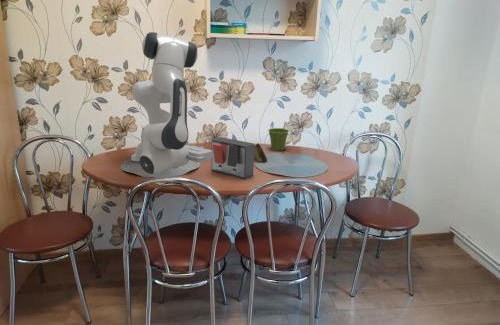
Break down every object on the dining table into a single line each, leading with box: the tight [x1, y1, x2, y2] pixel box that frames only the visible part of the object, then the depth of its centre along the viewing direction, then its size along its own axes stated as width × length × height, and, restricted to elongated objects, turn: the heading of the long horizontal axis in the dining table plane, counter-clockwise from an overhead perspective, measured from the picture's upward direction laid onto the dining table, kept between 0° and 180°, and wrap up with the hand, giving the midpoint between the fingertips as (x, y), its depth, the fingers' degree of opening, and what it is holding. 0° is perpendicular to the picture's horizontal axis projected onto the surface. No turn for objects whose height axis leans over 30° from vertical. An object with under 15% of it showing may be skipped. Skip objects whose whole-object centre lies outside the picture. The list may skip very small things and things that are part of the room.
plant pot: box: [267, 127, 290, 152], centre depth 203 cm, size 12×12×11 cm
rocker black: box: [227, 145, 239, 167], centre depth 155 cm, size 2×4×9 cm, turn 56°
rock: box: [254, 142, 269, 163], centre depth 184 cm, size 11×9×10 cm
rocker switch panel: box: [211, 136, 255, 180], centre depth 161 cm, size 7×19×15 cm, turn 57°
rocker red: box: [213, 144, 224, 164], centre depth 159 cm, size 2×4×9 cm, turn 56°
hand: (201, 148), depth 148 cm, fingers closed
